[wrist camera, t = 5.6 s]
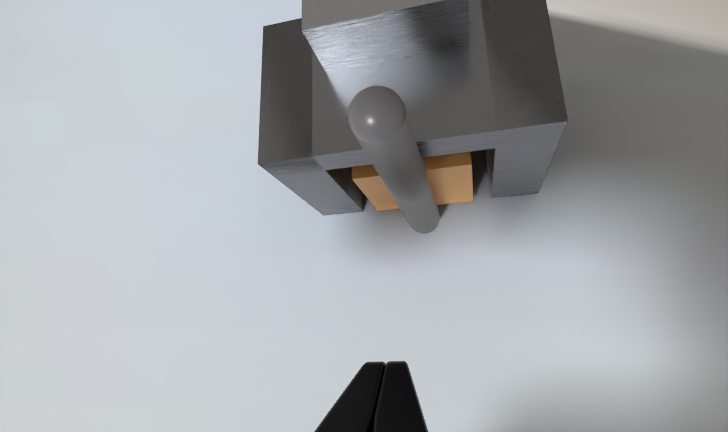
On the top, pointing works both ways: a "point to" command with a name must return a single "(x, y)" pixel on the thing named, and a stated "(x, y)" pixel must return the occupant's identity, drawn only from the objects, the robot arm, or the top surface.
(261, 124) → the housing
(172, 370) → the top surface
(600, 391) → the top surface
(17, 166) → the top surface
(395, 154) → the plug
